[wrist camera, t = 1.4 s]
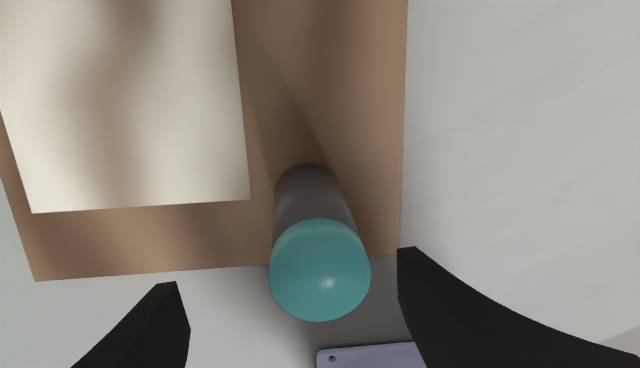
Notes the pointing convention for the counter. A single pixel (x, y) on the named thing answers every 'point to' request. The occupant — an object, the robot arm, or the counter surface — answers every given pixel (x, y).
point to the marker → (315, 247)
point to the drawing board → (193, 126)
